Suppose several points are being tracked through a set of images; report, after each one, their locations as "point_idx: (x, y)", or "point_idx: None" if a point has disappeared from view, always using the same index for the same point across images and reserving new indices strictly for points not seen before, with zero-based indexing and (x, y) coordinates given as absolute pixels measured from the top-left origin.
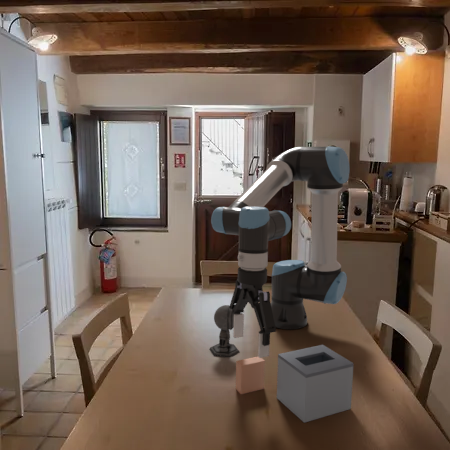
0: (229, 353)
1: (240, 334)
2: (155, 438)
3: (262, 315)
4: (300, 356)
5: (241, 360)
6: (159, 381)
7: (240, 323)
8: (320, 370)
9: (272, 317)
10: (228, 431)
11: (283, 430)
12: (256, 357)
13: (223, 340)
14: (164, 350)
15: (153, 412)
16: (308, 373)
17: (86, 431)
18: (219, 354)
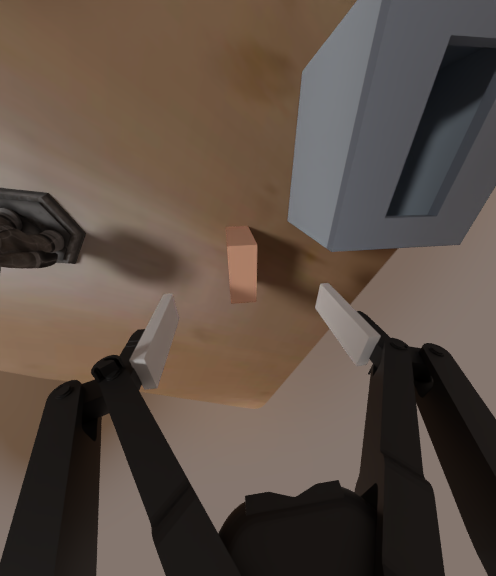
0: (70, 231)
1: (172, 307)
2: (285, 368)
3: (440, 446)
4: (391, 191)
5: (233, 293)
6: (171, 355)
7: (162, 337)
8: (489, 189)
9: (483, 410)
10: (316, 315)
11: (358, 257)
12: (231, 256)
13: (44, 260)
14: (47, 336)
15: (242, 366)
16: (462, 235)
17: (248, 403)
18: (73, 254)
